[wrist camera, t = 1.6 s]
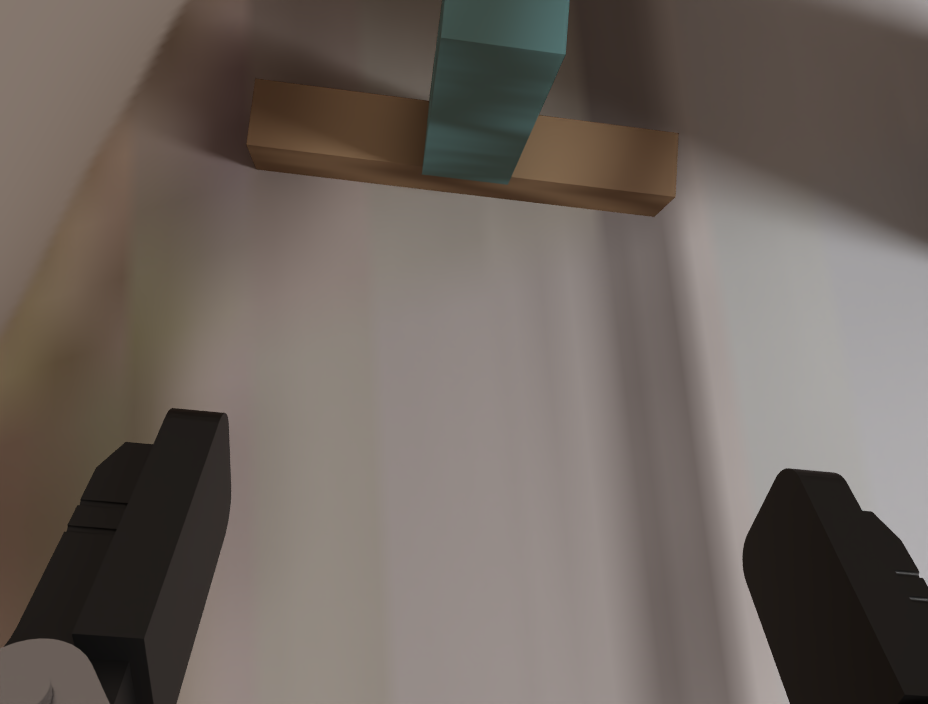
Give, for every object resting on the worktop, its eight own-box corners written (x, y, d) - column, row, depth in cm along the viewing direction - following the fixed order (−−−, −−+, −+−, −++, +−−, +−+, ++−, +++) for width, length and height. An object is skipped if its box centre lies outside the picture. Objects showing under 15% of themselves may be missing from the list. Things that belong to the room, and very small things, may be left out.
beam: (656, 151, 32) (807, -25, 21) (652, 225, 31) (805, 87, 20) (265, 101, 30) (199, -115, 19) (255, 178, 30) (182, 2, 19)
